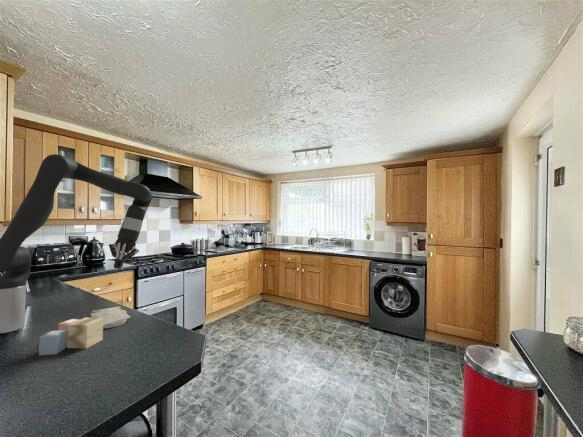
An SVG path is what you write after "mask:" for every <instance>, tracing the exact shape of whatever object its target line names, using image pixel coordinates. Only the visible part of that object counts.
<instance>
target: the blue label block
mask: <svg viewBox="0 0 583 437" xmlns="http://www.w3.org/2000/svg"><path fill="white" fill-rule="evenodd" d="M67 336H68V330H56V329H55V330H50V331H48V332H46V333H44V334H42V335H41V336H39V341H38V342H39V343H38V344H39V345H38V347H39V348H38V356H48V355H51V356H53V355H58V354H59V353H61V352H62V351H64V350H65V349H66V348H67Z"/></svg>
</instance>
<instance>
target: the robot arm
mask: <svg viewBox="0 0 583 437" xmlns="http://www.w3.org/2000/svg"><path fill="white" fill-rule="evenodd" d="M63 179H71V180H75V181H76V180H77V181H81V182H85V183H87V184H91V185H93V186H95V187H98V188H100V189H102V190H105V191H107V192H110V193H113V194H117V195H119V196H126V197H130V198H133V201H132V203H131V205H129V206H128V207H127V210H126V212H125V216H124V218H123V220H122V222H121V225H120V228H119V231H118V232H117V233H118V234H117V235H116V236H117V239H116V240H115V242H114V243H110V244H108V247H109V250H110V253H111V257H113V258H114V259H115V260H114V264H113V269H117V270H120V269H121V268H123V267H124V266H123V265H124V262H125V261H126V260H130V259H132V258H133V257H134V256H135V255H136V254H138V253H139V252H140V250H139V249H138V248H137V247H136V245H137V244H136V243H137V241H138V238H139V235H140V233H141V230H142V226H143V221H144V219H145V217H146V212H147V210H148V208H149V206H150V204H151V202H152V199H153V193H152V191H151V189H150V188H148V186H146V185H144V184H141V183H138V182H134V181H129V180H126V179H124V178H121V177H119V176H115V175H112V174H109V173H107V172H106V173H105V172H101V171H98V170H96V169H93V168H90V167H88V166H87V165H84V164H82V163H80V162H78V161H76V160H74V159H72V158H71V157H68V156H64V155H62V154H57V153H55V154H54V153H53V154H49V155H47V156H45V158H44V159H43V160H42V161H41V164H40V166H39V168H38V170H37V174H36V176H35V179H34V181H33V183H32V185H31V186H30V187H29V190H28V191H27V194H26V195H25V197H24V198H23V200H22V202H21V203H20V204H19V207H18V208H17V210H16V212H15V215H14V217H13V218H12V220H11V222H10V223H9V224H8V227H7V228H6V229H5V231H4V232H3V234H2V236H1V237H0V272H4V273H3V274H2V275H0V334H6V333H10V332H13V331H14V332H15V331H17V330H21V329H23V328H24V327H25V317H26V316H25V315H26V299H27V298H26V297H27V281H28V279H29V277H30V274H31V266H32V254H31V251H30V250H29V249H28V248H27V247H24V246H21V245H23V243H24V242H25V241H26V240H27V239H28V238H29V237H30V236H32V235H33V234H35V232H37V231H38V230H39V229H40V228H42V227H43V226H44V225H45V223H46V222H47V220H48V219H49V218H50V216H51V214H52V213H53V209H54V204H55V193H56V190H57V188H58V186H59V185H60V182H62V180H63Z"/></svg>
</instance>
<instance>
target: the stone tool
mask: <svg viewBox="0 0 583 437" xmlns="http://www.w3.org/2000/svg"><path fill="white" fill-rule="evenodd" d="M90 318H103V330H104V329H111V328H116V327H121V326H123V325H125V323H126V322H127V321H128V320H129V319H130V318H131V315H129V314H128V313H127V310H125V309H122V308H121V306H114V307H107V308H103V309H102V308H101V309H95V310H92V311H91V313H90Z"/></svg>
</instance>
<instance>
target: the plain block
mask: <svg viewBox="0 0 583 437" xmlns="http://www.w3.org/2000/svg"><path fill="white" fill-rule="evenodd" d="M103 338H104V329H103V318H91V317H86V316H85V317H83V318H81V319H80V320H78V321H76V322H74V323H71V324H69V325H68V340H67V347H66V348H67V349H84V350H85V349H88V348H91V347H92V346H94V345H96V344H98V343H99V342H101V341H103Z"/></svg>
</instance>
